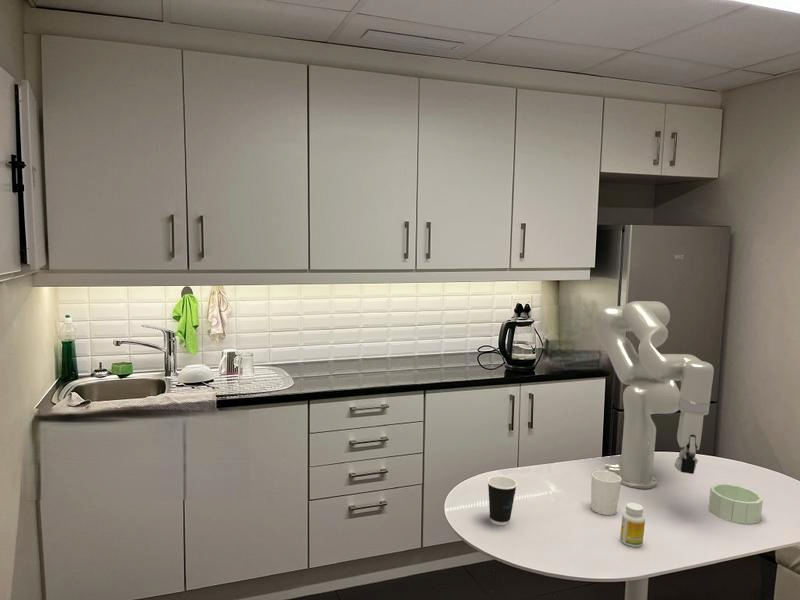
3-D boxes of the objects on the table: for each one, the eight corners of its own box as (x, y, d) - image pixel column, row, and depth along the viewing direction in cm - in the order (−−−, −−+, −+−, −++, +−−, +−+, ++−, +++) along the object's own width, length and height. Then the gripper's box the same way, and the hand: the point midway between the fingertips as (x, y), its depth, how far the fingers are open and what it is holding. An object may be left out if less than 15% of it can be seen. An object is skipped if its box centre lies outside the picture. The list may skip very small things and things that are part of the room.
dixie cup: (512, 530, 155) (515, 490, 154) (482, 525, 157) (484, 485, 156) (516, 517, 162) (519, 478, 161) (487, 512, 165) (489, 473, 163)
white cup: (619, 507, 171) (622, 474, 170) (617, 519, 164) (620, 484, 163) (590, 501, 174) (593, 468, 173) (587, 512, 167) (590, 478, 166)
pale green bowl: (712, 518, 166) (714, 497, 166) (706, 500, 178) (708, 480, 178) (764, 527, 162) (766, 506, 162) (754, 508, 174) (756, 488, 173)
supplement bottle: (615, 539, 153) (618, 503, 152) (630, 535, 155) (634, 499, 154) (631, 549, 148) (635, 512, 147) (647, 545, 150) (650, 509, 149)
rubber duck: (668, 468, 169) (672, 441, 168) (688, 466, 170) (692, 440, 169) (682, 476, 163) (685, 448, 162) (702, 475, 165) (706, 447, 164)
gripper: (676, 395, 173) (668, 454, 176) (681, 412, 157) (673, 478, 160) (704, 399, 171) (697, 459, 173) (713, 417, 155) (705, 483, 157)
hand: (686, 467), depth 167 cm, fingers closed on rubber duck, 5 cm apart
